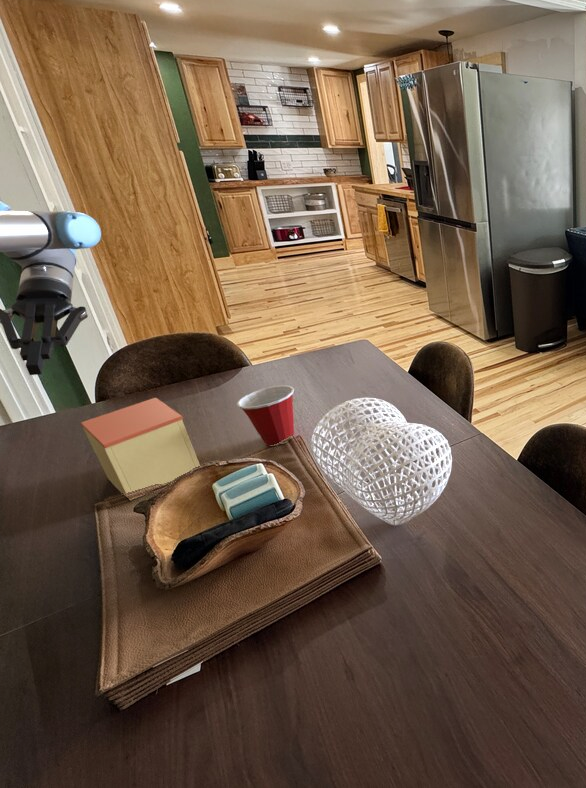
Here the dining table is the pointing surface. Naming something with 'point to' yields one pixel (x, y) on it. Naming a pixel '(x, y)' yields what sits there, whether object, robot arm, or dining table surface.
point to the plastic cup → (270, 412)
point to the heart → (382, 459)
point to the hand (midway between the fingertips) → (33, 369)
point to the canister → (147, 458)
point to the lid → (130, 422)
